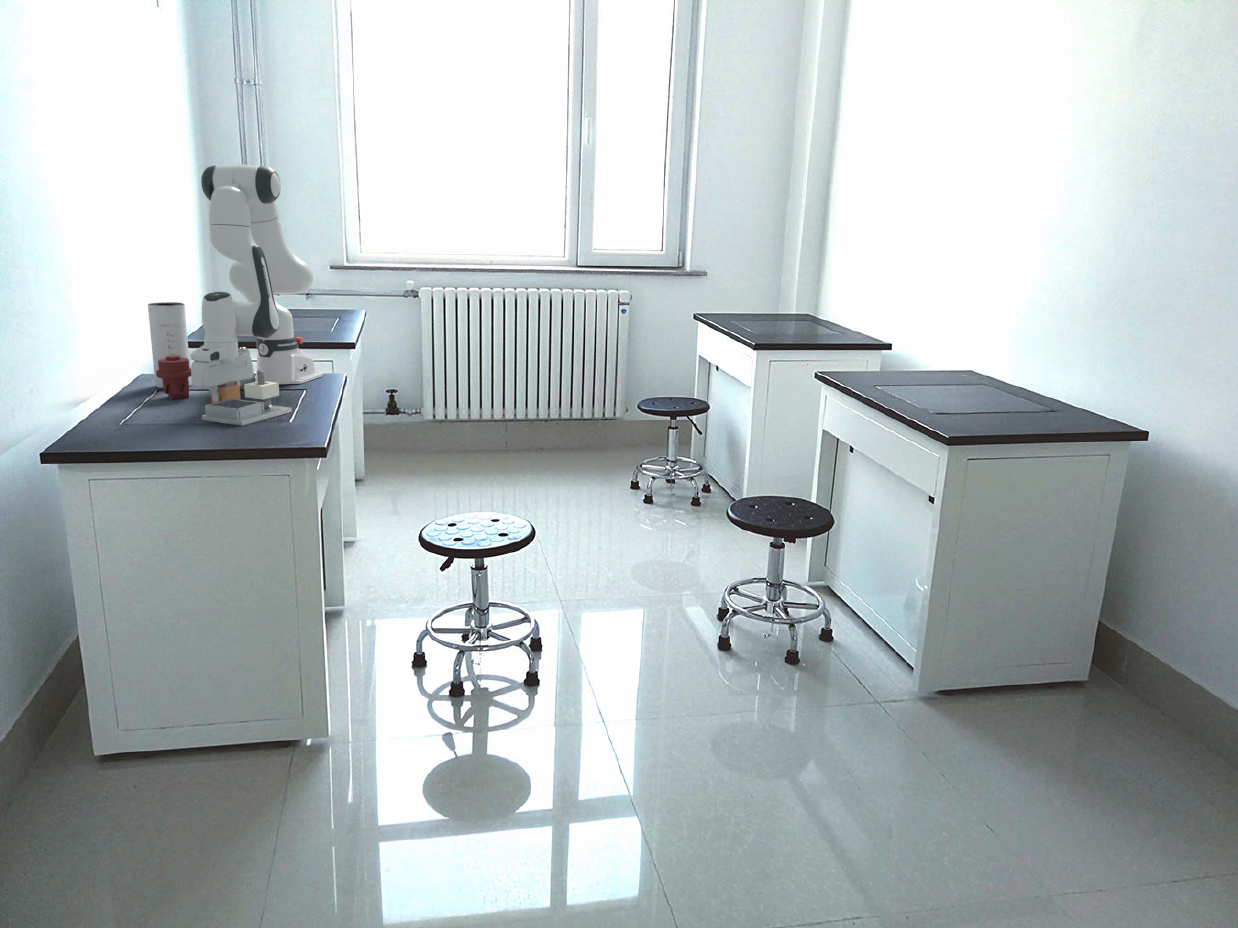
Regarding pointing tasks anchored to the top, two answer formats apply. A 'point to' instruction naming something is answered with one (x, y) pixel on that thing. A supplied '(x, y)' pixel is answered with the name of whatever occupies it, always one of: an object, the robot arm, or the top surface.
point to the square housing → (261, 390)
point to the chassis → (244, 409)
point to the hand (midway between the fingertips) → (225, 398)
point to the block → (228, 392)
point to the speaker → (167, 333)
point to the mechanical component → (174, 376)
